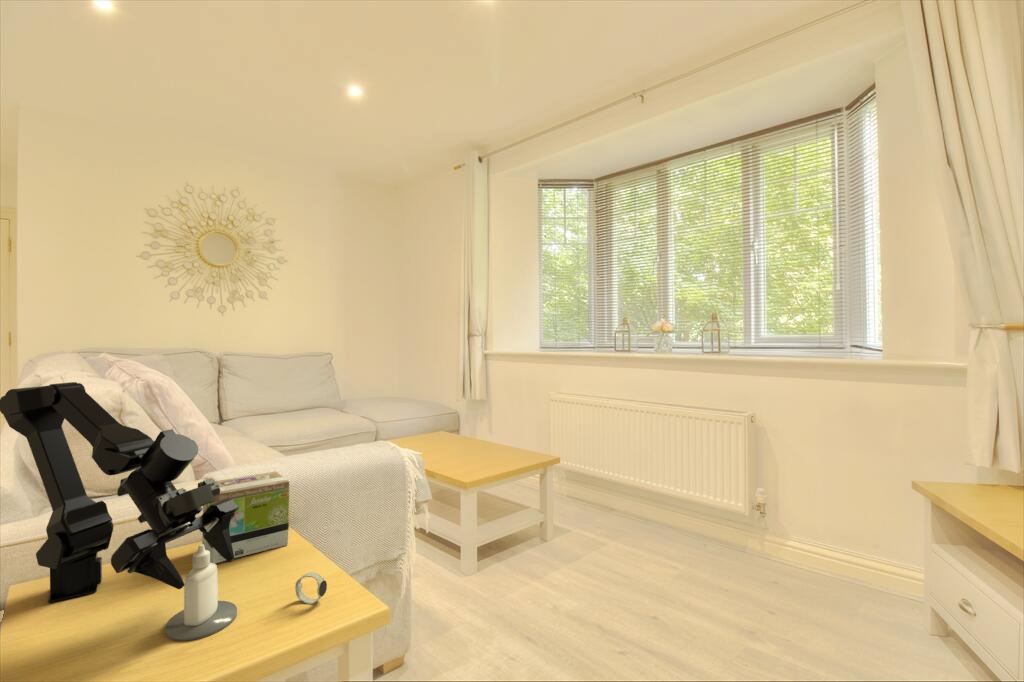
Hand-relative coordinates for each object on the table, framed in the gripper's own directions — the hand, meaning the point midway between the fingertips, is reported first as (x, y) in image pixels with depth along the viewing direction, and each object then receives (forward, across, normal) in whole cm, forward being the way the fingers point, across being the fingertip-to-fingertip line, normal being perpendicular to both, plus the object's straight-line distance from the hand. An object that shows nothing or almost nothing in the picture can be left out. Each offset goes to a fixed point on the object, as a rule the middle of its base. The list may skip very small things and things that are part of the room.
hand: (208, 573), depth 80 cm
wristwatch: (+14, +10, -2) cm, 18 cm away
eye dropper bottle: (+4, 0, +7) cm, 8 cm away
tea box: (-5, +24, +18) cm, 30 cm away
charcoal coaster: (+5, 0, +7) cm, 8 cm away
